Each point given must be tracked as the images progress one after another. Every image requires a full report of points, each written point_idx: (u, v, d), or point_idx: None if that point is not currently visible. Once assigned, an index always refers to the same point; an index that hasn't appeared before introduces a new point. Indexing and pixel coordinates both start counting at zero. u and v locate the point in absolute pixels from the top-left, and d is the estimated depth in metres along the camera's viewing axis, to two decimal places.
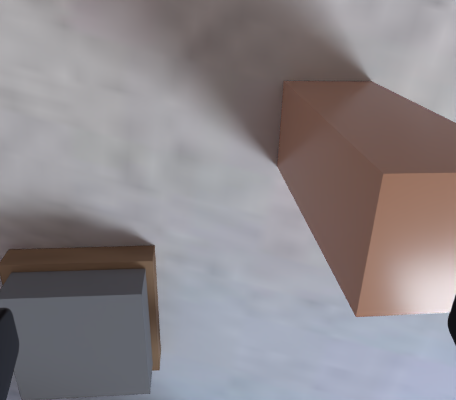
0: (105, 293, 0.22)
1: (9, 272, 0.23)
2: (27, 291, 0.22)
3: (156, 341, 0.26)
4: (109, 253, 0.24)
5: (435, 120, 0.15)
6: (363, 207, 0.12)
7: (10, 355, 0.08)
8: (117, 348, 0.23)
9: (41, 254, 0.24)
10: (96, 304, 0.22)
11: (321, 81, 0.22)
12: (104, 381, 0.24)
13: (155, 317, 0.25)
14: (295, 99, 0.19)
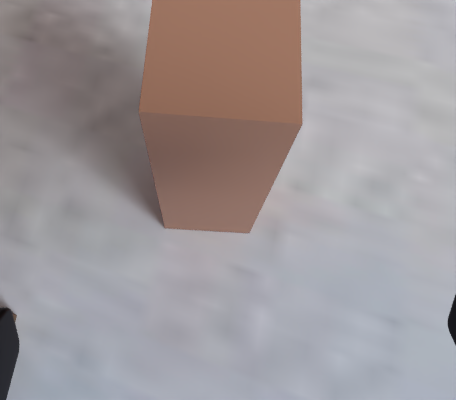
0: None
1: None
2: None
3: None
4: None
5: None
6: None
7: (10, 355, 0.08)
8: None
9: None
10: None
11: None
12: None
13: None
14: None
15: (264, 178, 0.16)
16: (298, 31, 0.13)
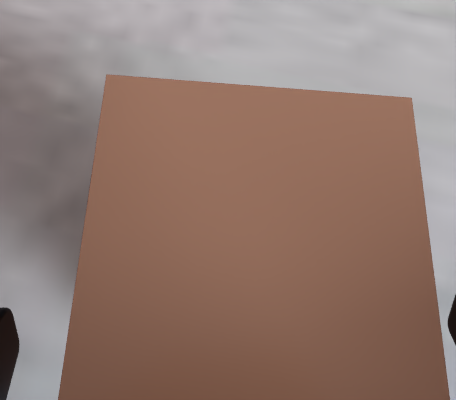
0: None
1: None
2: None
3: None
4: None
5: None
6: None
7: (10, 355, 0.08)
8: None
9: None
10: None
11: None
12: None
13: None
14: None
15: None
16: (418, 183, 0.06)
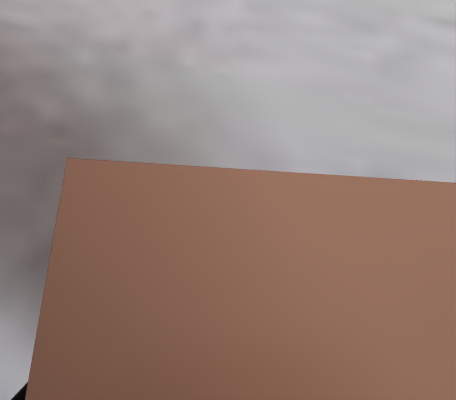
0: None
1: None
2: None
3: None
4: None
5: None
6: None
7: None
8: None
9: None
10: None
11: None
12: None
13: None
14: None
15: None
16: None
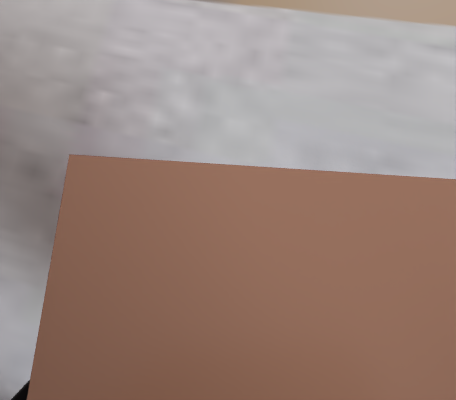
0: None
1: None
2: None
3: None
4: None
5: None
6: None
7: None
8: None
9: None
10: None
11: None
12: None
13: None
14: None
15: None
16: None
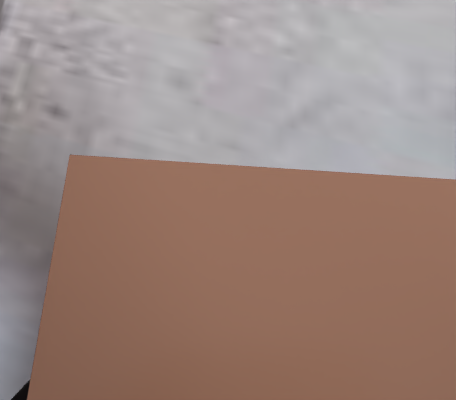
0: None
1: None
2: None
3: None
4: None
5: None
6: None
7: None
8: None
9: None
10: None
11: None
12: None
13: None
14: None
15: None
16: None
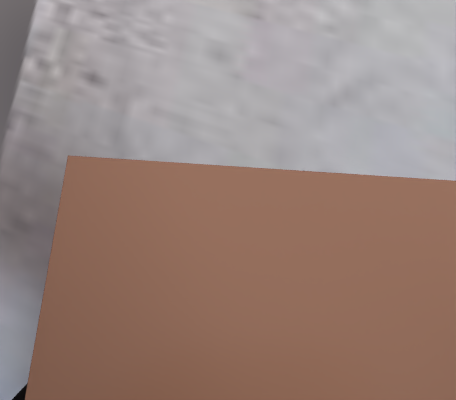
0: None
1: None
2: None
3: None
4: None
5: None
6: None
7: None
8: None
9: None
10: None
11: None
12: None
13: None
14: None
15: None
16: None
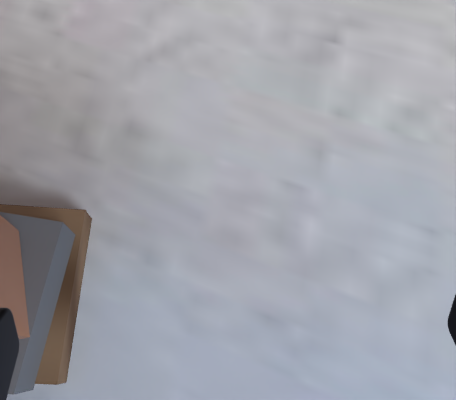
0: (24, 216, 0.19)
1: None
2: None
3: (64, 328, 0.20)
4: None
5: None
6: None
7: (10, 355, 0.08)
8: None
9: None
10: None
11: None
12: None
13: (71, 290, 0.20)
14: None
15: None
16: None
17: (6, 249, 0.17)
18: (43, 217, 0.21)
